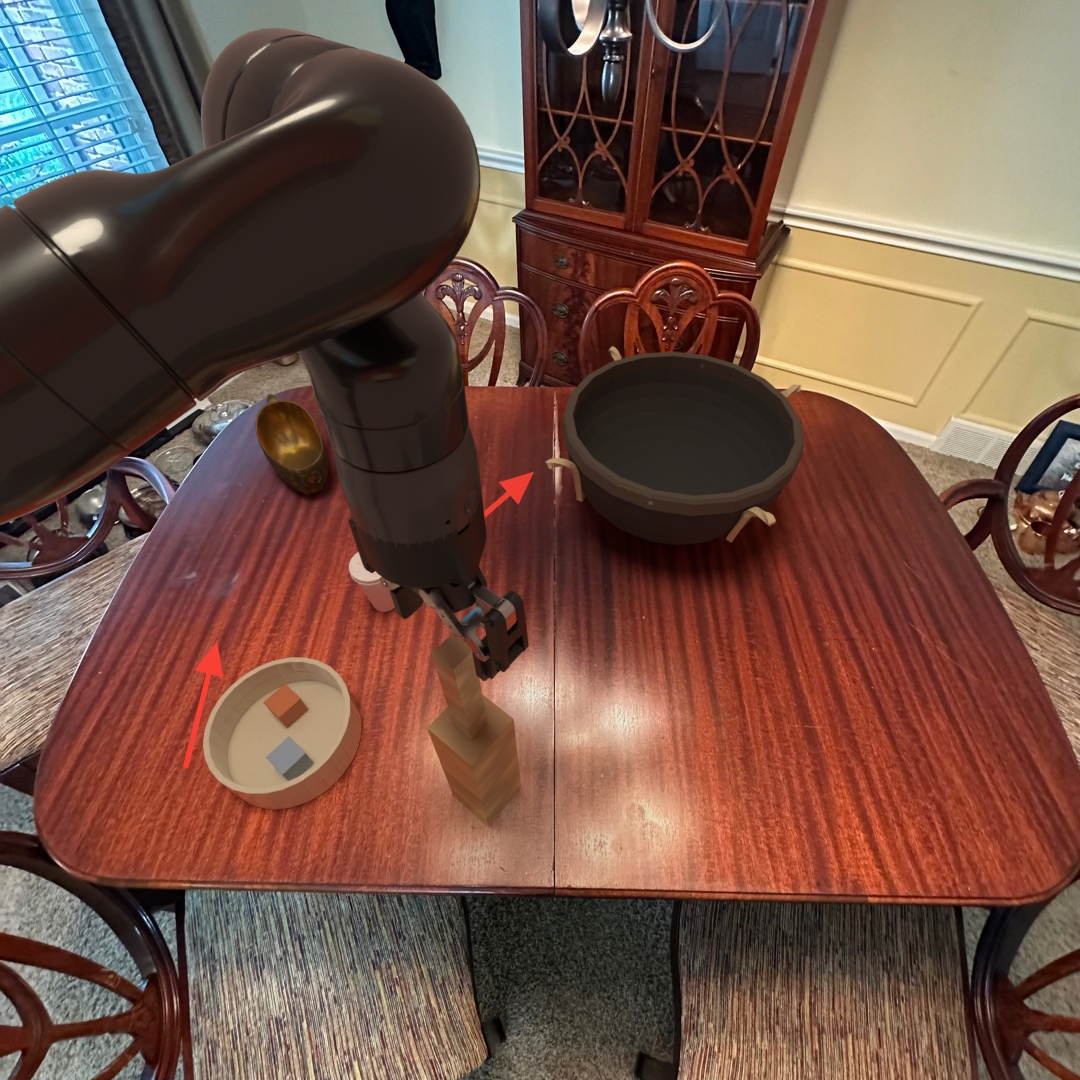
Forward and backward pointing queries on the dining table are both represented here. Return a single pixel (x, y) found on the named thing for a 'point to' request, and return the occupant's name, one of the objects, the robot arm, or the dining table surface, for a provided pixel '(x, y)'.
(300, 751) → the bluegrey block
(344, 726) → the round beige tray
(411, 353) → the robot arm
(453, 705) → the wooden square bar
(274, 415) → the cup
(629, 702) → the dining table surface
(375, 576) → the smoothie
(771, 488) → the bowl
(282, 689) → the terracotta block
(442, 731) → the oak stand
